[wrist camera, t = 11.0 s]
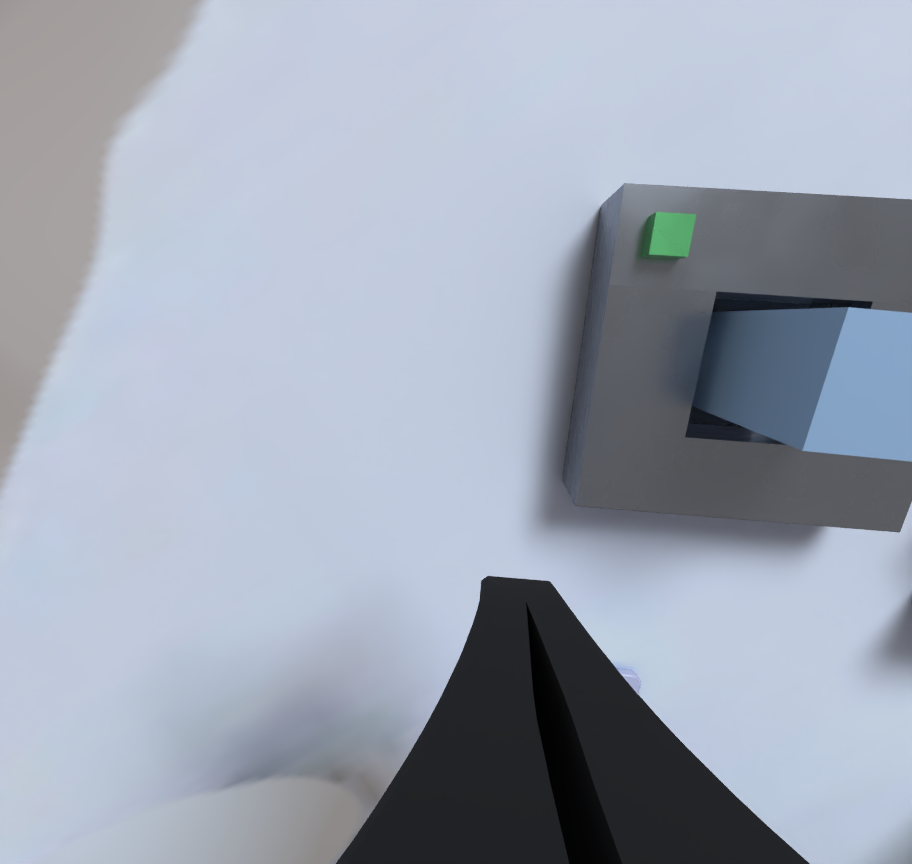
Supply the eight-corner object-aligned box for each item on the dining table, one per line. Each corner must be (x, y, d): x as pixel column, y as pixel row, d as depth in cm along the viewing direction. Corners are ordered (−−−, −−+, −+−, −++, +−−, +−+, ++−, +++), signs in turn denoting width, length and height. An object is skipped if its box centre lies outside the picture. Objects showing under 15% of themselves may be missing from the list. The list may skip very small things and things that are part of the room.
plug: (762, 407, 17) (943, 464, 11) (676, 399, 17) (802, 450, 11) (787, 320, 16) (1004, 321, 10) (696, 312, 16) (848, 307, 10)
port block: (841, 502, 18) (916, 540, 15) (562, 480, 18) (579, 512, 15) (933, 224, 15) (1049, 200, 12) (601, 205, 16) (631, 177, 13)
